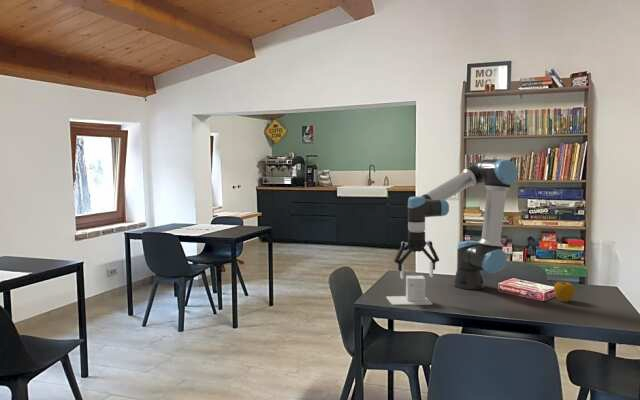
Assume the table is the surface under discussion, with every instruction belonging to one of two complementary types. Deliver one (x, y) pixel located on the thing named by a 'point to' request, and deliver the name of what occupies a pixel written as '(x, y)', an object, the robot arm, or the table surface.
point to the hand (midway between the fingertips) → (416, 277)
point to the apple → (564, 291)
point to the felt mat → (406, 301)
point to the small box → (415, 288)
